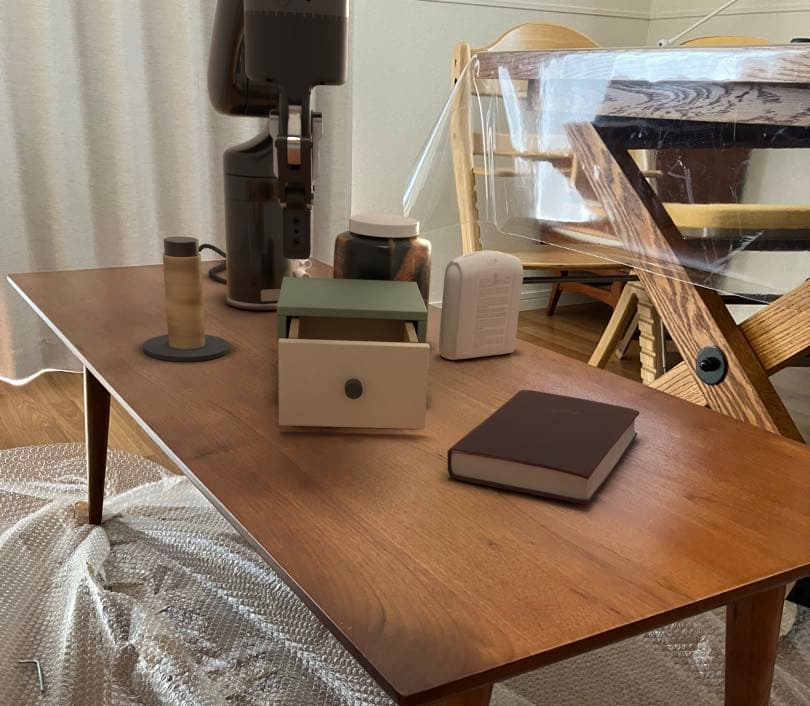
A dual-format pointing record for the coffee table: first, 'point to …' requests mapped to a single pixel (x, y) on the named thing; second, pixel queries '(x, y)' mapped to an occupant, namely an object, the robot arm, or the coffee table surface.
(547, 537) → the coffee table surface
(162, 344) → the coaster
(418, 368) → the drawer
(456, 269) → the cream rounded block
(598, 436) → the book
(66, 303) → the coffee table surface
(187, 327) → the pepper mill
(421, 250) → the jar
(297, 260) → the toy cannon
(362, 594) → the coffee table surface
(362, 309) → the cabinet
